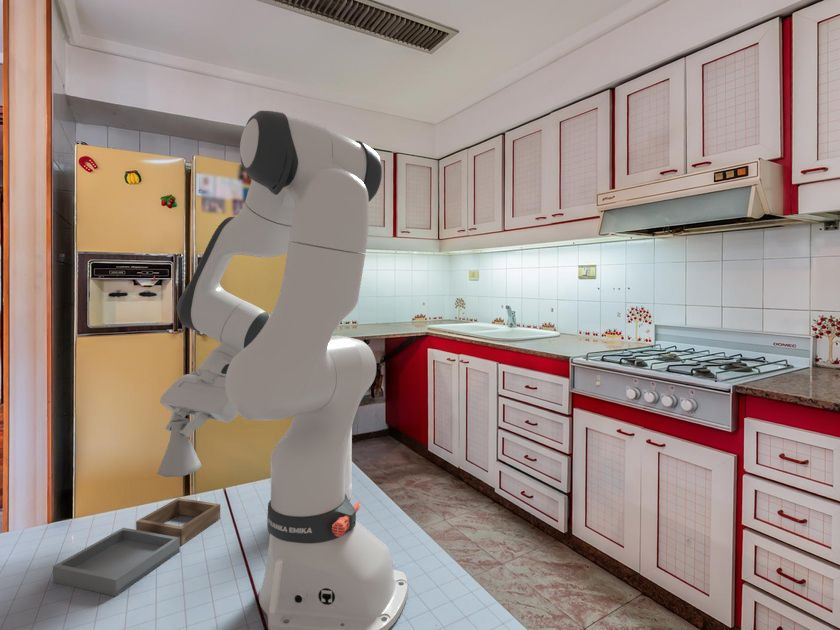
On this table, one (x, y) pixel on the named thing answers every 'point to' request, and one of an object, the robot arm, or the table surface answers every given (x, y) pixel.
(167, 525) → the shaker holder
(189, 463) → the flask
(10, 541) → the table surface
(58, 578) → the tray
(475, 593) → the table surface
